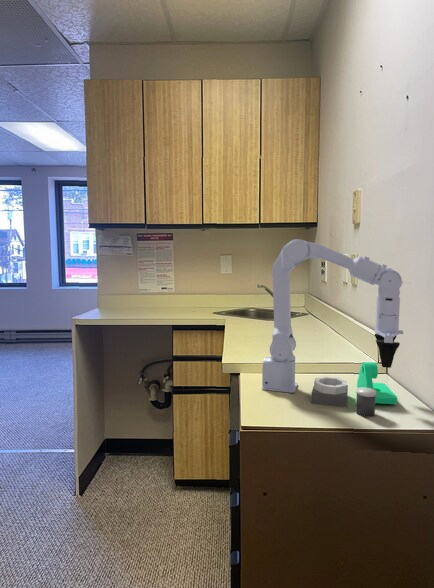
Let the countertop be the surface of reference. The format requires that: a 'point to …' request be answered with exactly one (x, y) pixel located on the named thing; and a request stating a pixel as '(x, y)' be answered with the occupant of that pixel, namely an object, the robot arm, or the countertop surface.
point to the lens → (365, 402)
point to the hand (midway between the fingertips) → (385, 363)
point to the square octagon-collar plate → (330, 391)
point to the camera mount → (382, 390)
